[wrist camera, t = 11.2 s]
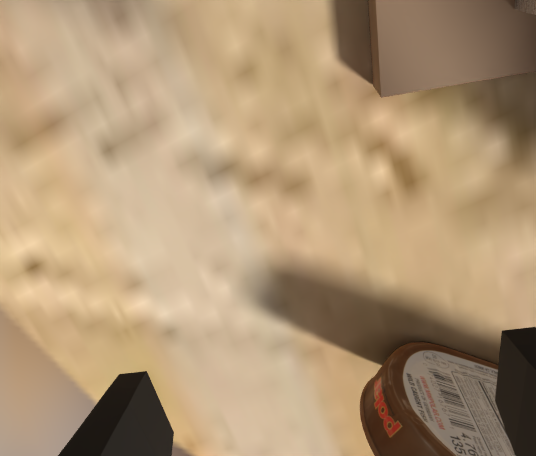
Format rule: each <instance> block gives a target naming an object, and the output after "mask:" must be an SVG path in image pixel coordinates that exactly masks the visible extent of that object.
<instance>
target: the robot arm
mask: <svg viewBox="0 0 536 456" xmlns="http://www.w3.org/2000/svg"><path fill="white" fill-rule="evenodd" d="M495 402H496V405H497V408H498V411H499V414H500V416H501V419H502V422H503V425H504V428H505V430H506V433H507V435H508V438H509V441H510V443H511V446H512V448H513V451H514V453H515V455H516V456H536V327H531V328H522V329H514V330H505V331H502V336H501V346H500V356H499V365H498V375H497V385H496V394H495ZM173 434H174V432H173V430H172V427H171V425H170V423H169V421H168V418H167V416H166V414H165V412H164V409H163V407H162V405H161V403H160V400H159V398H158V396H157V394H156V391H155V389H154V387H153V384H152V382H151V380H150V378H149V375H148V373H147V371H144V372H136V373H127V374H119V375H118V377H117V378H116V379H115V381H114V382H113V383H112V384H111V386H110V387H109V388H108V390H107V391H106V392H105V394H104V395H103V396H102V398H101V399H100V400H99V402H98V403H97V404H96V406H95V407H94V409H93V410H92V411H91V413H90V414H89V415H88V417H87V418H86V419H85V421H84V422H83V423H82V425H81V426H80V428H79V429H78V430H77V431H76V433H75V434H74V435H73V437H72V438H71V440H70V441H69V442H68V443H67V445H66V446H65V447H64V449H63V450H62V451H61V452H60V454H59V455H58V456H171V455H172V445H173Z"/></svg>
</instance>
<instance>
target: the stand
mask: <svg viewBox="0 0 536 456" xmlns="http://www.w3.org/2000/svg"><path fill="white" fill-rule="evenodd" d="M368 9H369V25H370V41H371V57H372V73H373V86H374V87H375V89H376V90H377V92H378V93H379V95H380V97H387V96H393V95H399V94H405V93H411V92H417V91H423V90H429V89H435V88H441V87H447V86H453V85H459V84H465V83H470V82H476V81H482V80H488V79H494V78H500V77H506V76H512V75H518V74H524V73H530V72H536V15H534V14H530V13H527V12H523V11H520V10H516V9H515V0H368Z"/></svg>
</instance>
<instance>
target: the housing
mask: <svg viewBox="0 0 536 456" xmlns="http://www.w3.org/2000/svg"><path fill="white" fill-rule="evenodd" d="M515 9H516V10H520V11H523V12H527V13H530V14H534V15H536V0H515Z"/></svg>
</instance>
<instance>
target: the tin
mask: <svg viewBox="0 0 536 456" xmlns="http://www.w3.org/2000/svg"><path fill="white" fill-rule="evenodd" d="M497 375H498V365H497V364H494V363H491V362H488V361H485V360H482V359H479V358H476V357H473V356H470V355H467V354H464V353H462V352H459V351H456V350H453V349H450V348H447V347H444V346H440V345H436V344H432V343H425V342H414V343H408V344H405V345H403V346H401V347H399V348H398V349H396V350H395V351H394V352H393V353H392V354H391V355H390V356H389V358H388V359H387V360H386V361H385V363H384V364H383V365H382V367H381V368H380V370H379V371H378V373H377V374H376V375H375V376H374V377H373V378H372V379H371V380H370V381H369V382H368V383H367V384H366V386H365V387H364V389H363V392H362V395H361V399H360V415H361V422H362V426H363V430H364V432H365V435H366V438H367V441H368V443H369V445H370V447H371V449H372V451H373V453H374V455H375V456H516V455H515V453H514V451H513V448H512V446H511V443H510V441H509V438H508V435H507V433H506V430H505V428H504V425H503V422H502V419H501V416H500V414H499V411H498V408H497V405H496V402H495V394H496V385H497Z"/></svg>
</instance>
